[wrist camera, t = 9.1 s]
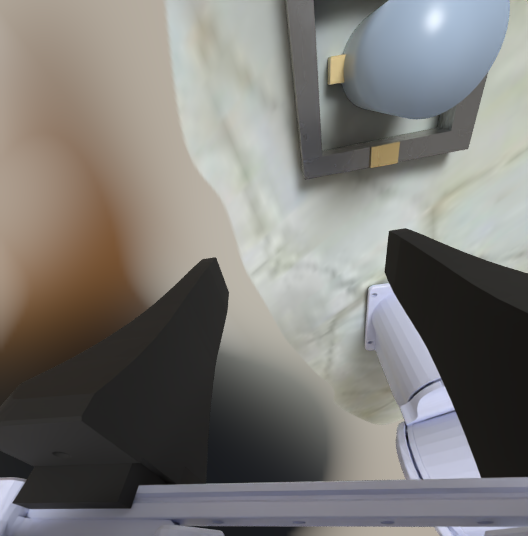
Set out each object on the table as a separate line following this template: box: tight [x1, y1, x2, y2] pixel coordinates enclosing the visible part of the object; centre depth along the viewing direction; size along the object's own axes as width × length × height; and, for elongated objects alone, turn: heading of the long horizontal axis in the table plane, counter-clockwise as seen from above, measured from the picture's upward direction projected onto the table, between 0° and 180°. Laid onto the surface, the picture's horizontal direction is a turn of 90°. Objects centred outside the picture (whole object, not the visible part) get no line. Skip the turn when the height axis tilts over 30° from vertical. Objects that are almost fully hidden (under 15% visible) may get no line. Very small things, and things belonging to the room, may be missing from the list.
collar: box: [285, 0, 488, 179], centre depth 13 cm, size 10×10×2 cm
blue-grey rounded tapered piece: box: [328, 0, 510, 119], centre depth 11 cm, size 6×4×6 cm
